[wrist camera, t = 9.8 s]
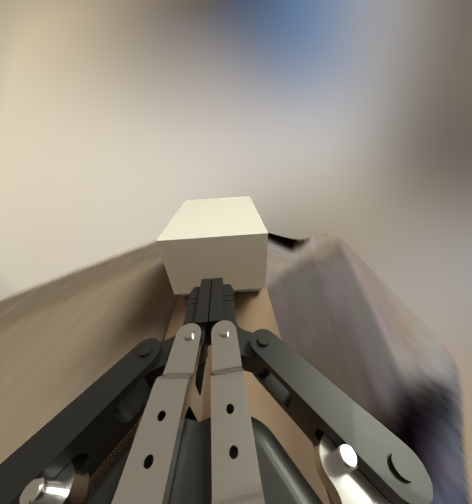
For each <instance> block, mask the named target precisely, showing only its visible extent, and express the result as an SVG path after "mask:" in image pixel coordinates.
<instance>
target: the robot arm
mask: <svg viewBox="0 0 472 504" xmlns="http://www.w3.org/2000/svg"><path fill="white" fill-rule="evenodd" d="M210 345H212V373H211V417H209V418H207V419H205V420H203V421H202V415H203V392H204V385H205V378H206V371H207V363H208V346H210ZM243 370H244V371H247V372H251V373H252V374H253V375H254V376H255V378H256V379H257V380H258V381H259V382H260V383H261V384H262V386H263V387H264V388H265V389H266V390H267V391H268V392H269V394H270V395H271V396H272V397H273V398H274V399H275V401H276V402H277V403H278V404H279V405H280V406H281V407H282V409H283V410H284V411H285V412H286V413H287V414H288V415H289V417H290V418H291V419H292V420H293V421H294V422H295V423H296V425H297V426H298V427H299V428H300V429H301V430H302V431H303V433H304V434H305V435H306V436H307V437H308V438H309V439H310V441H311V442H312V443H313V444H314V445H315V446H316V447H315V450H314V462H315V467H316V470H317V473H318V475H319V477H320V479H321V481H322V482H323V484H324V486H325V487H326V489H327V490H328V492H329V494H330V496H331V499H332V501H333V504H430V503H431V501H432V498H433V488H432V484H431V481H430V478H429V475H428V473H427V471H426V469H425V467H424V466H423V464H422V462H421V461H420V460H419V458H418V457H417V456H416V454H415V453H414V452H413V451H412V450H411V449H410V448H409V447H408V446H407V445H406V444H405V443H403V442H402V441H401V440H400V439H399V438H397V437H396V436H395V435H394V434H393V433H392V432H390V431H389V430H388V429H387V428H386V427H384V426H383V425H382V424H381V423H380V422H378V421H377V420H376V419H375V418H374V417H372V416H371V415H370V414H369V413H368V412H366V411H365V410H364V409H363V408H362V407H361V406H359V405H358V404H357V403H356V402H355V401H353V400H352V399H351V398H350V397H349V396H347V395H346V394H345V393H344V392H343V391H341V390H340V389H339V388H338V387H337V386H335V385H334V384H333V383H332V382H331V381H329V380H328V379H327V378H326V377H325V376H324V375H322V374H321V373H320V372H319V371H318V370H316V369H315V368H314V367H313V366H312V365H310V364H309V363H308V362H307V361H306V360H304V359H303V358H302V357H301V356H300V355H298V354H297V353H296V352H295V351H294V350H293V349H291V348H290V347H289V346H288V345H287V344H285V343H284V342H283V341H282V340H281V339H279V338H278V337H277V336H276V335H275V334H273V333H272V332H271V331H269V330H267V329H258V330H256V331H255V332H254V333H253V332H249V331H245V330H243V329H241V328H240V327H239V326H238V325H237V323H236V316H235V303H234V290H233V288H232V286H231V285H230V284H224V285H223V277H221V278H209V279H202V280H201V285H200V287H194V288H193V290H192V291H191V292H190V297H189V301H188V306H187V310H186V315H185V319H184V323H183V326H182V327H181V328H180V329H179V330H178V332H177V334H176V335H175V336H173V337H171V338H169V339H166V340H164V341H161V342H159V341H158V340H157V339H154V338H150V339H146V340H144V341H142V342H140V343H139V344H138V345H137V346H136V347H135V348H133V349H132V350H131V351H130V352H129V353H128V354H126V355H125V356H124V357H123V358H122V359H121V360H120V361H118V362H117V363H116V364H115V365H114V366H113V367H112V368H110V369H109V370H108V371H107V372H106V373H105V374H103V375H102V376H101V377H100V378H99V379H98V380H97V381H95V382H94V383H93V384H92V385H91V386H90V387H89V388H87V389H86V390H85V391H84V392H83V393H82V394H80V395H79V396H78V397H77V398H76V399H75V400H74V401H72V402H71V403H70V404H69V405H68V406H67V407H66V408H64V409H63V410H62V411H61V412H60V413H59V414H57V415H56V416H55V417H54V418H53V419H52V420H51V421H49V422H48V423H47V424H46V425H45V426H44V427H43V428H41V429H40V430H39V431H38V432H37V433H36V434H34V435H33V436H32V437H31V438H30V439H29V440H28V441H26V442H25V443H24V444H23V445H22V446H21V447H20V448H18V449H17V450H16V451H15V452H14V453H13V454H11V455H10V456H9V457H8V458H7V459H6V460H5V461H3V462H2V463H1V464H0V504H323V502H322V501H321V500H320V498H319V497H318V495H317V494H316V493H315V491H314V490H313V489H312V487H311V486H310V484H309V483H308V482H307V480H306V479H305V477H304V476H303V475H302V473H301V472H300V470H299V469H298V468H297V466H296V465H295V463H294V462H293V461H292V459H291V458H290V456H289V455H288V454H287V452H286V451H285V449H284V448H283V447H282V445H281V444H280V442H279V441H278V440H277V438H276V437H275V435H274V434H273V433H272V432H271V430H270V429H269V428H268V427H267V426H266V425H265V424H263V423H262V422H261V421H259V420H258V419H256V418H254V417H252V416H251V415H250V409H249V403H248V396H247V390H246V384H245V377H244V372H243ZM142 415H143V416H142ZM141 416H142V419H141V422H140V425H139V427H138V430H137V433H136V436H135V439H134V440H133V441H132V442H131V443H130V444H129V445H128V446H127V447H126V448H125V450H124V451H123V452H122V453H121V455H120V456H119V457H118V458H117V460H116V461H115V462H114V464H113V465H112V466H111V468H110V469H109V470H108V471H107V473H106V474H105V475H104V477H103V478H102V479H101V481H100V482H99V483H98V484H97V486H96V487H95V488H94V490H93V491H92V492H91V493H90V495H89V496H88V497H87V499H86V500H85V498H86V495H87V489H88V485H89V478H90V477H91V475H92V474H93V473H94V472H95V471H96V469H97V468H98V467H99V466H100V465H101V464H102V462H103V461H104V460H105V459H106V458H107V456H108V455H109V454H110V453H111V452H112V450H113V449H114V448H115V447H116V446H117V444H118V443H119V442H120V441H121V440H122V439H123V437H124V436H125V435H126V434H127V433H128V431H129V430H130V429H131V428H132V427H133V425H134V424H135V423H136V422H137V421H138V420H139V418H140V417H141ZM84 500H85V501H84ZM83 502H84V503H83Z"/></svg>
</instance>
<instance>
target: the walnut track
mask: <svg viewBox="0 0 472 504" xmlns="http://www.w3.org/2000/svg"><path fill="white" fill-rule="evenodd" d="M189 297H190V296H186V297H182V296H181V295H180V294H178V297H177V300H176V304H175V307H174V310H173V313H172V316H171V320H170V323H169V326H168V329H167V332H166V336H165V339H164V340H166V339H169V338H171V337H173V336H175V335H176V334H177V332H178V330H179V329H180V328H181V327H182V326H183V323H184V319H185V315H186V310H187V306H188V301H189ZM234 303H235V316H236V323H237V325H238V326H239V327H240V328H241V329H243V330H245V331H249V332H253V333H254V332H255V331H256V330H258V329H267V330H269V331H271V332H272V333H273V334H275V335H276V336H277V337H278V338H279V339H281V336H280V333H279V329H278V326H277V323H276V319H275V316H274V313H273V309H272V306H271V302H270V299H269V296H268V292H267V289H266V285H265V288H262V291H250V292H237V293H234ZM243 372H244V377H245V384H246V390H247V396H248V403H249V409H250V415H251V416H252V417H254V418H256V419H258V420H259V421H261V422H262V423H263V424H265V425H266V426H267V427H268V428H269V429H270V430H271V432H272V433H273V434H274V435H275V437H276V438H277V440H278V441H279V442H280V444H281V445H282V447H283V448H284V449H285V451H286V452H287V454H288V455H289V456H290V458H291V459H292V461H293V462H294V463H295V465H296V466H297V468H298V469H299V470H300V472H301V473H302V475H303V476H304V477H305V479H306V480H307V482H308V483H309V484H310V486H311V487H312V489H313V490H314V491H315V493H316V494H317V495H318V497H319V498H320V500H321V501H322V502H323V504H330V503H329V499H328V496H327V492H326V489H325V486H324V484H323V482H322V481H321V479H320V477H319V475H318V473H317V470H316V467H315V462H314V448H313V445H312V442H311V441H310V439H309V438H308V437H307V436H306V435H305V434H304V433H303V431H302V430H301V429H300V428H299V427H298V426H297V425H296V423H295V422H294V421H293V420H292V419H291V418H290V417H289V415H288V414H287V413H286V412H285V411H284V410H283V409H282V407H281V406H280V405H279V404H278V403H277V402H276V401H275V399H274V398H273V397H272V396H271V395H270V394H269V392H268V391H267V390H266V389H265V388H264V387H263V386H262V384H261V383H260V382H259V381H258V380H257V379H256V378H255V376H254V375H253V374H252V373H251V372H247V371H244V370H243ZM211 373H212V345H210V346H208V363H207V371H206V378H205V385H204V392H203V415H202V421H203V420H205V419H207V418H209V417H211ZM142 416H143V415H142ZM142 416H141V417H140V419H139V422H138V425H137V429H136V432H135V435H134V438H133V440H134V439H135V436H136V433H137V430H138V427H139V425H140V422H141V419H142Z"/></svg>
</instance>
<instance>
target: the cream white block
mask: <svg viewBox="0 0 472 504" xmlns="http://www.w3.org/2000/svg"><path fill="white" fill-rule="evenodd" d="M156 242H157V245H158V248H159V251H160V254H161V257H162V260H163V263H164V266H165V269H166V272H167V275H168V278H169V280H170V283H171V286H172V289H173V292H174V295H176V294H180V295H181V296H182V297H186V296H190V292H191V291H192V290H193V288H194V287H200V285H201V280H202V279H209V278H221V277H223V285H224V284H230V285H231V286H232V288H233V290H234V293H237V292H250V291H262V288H265V280H266V262H267V244H268V232H267V230H266V228H265V226H264V224H263V222H262V220H261V218H260V216H259V214H258V212H257V210H256V208H255V206H254V204H253V202H252V200H251V198H250V197H249V196H246V197H231V198H216V199H200V200H185V202H184V203H183V205H182V206H181V207H180V209H179V210H178V212H177V213H176V214H175V216H174V217H173V218H172V220H171V221H170V223H169V224H168V225H167V227H166V228H165V229H164V231H163V232H162V234H161V235H160V236H159V238H158V239H157V240H156Z"/></svg>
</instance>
